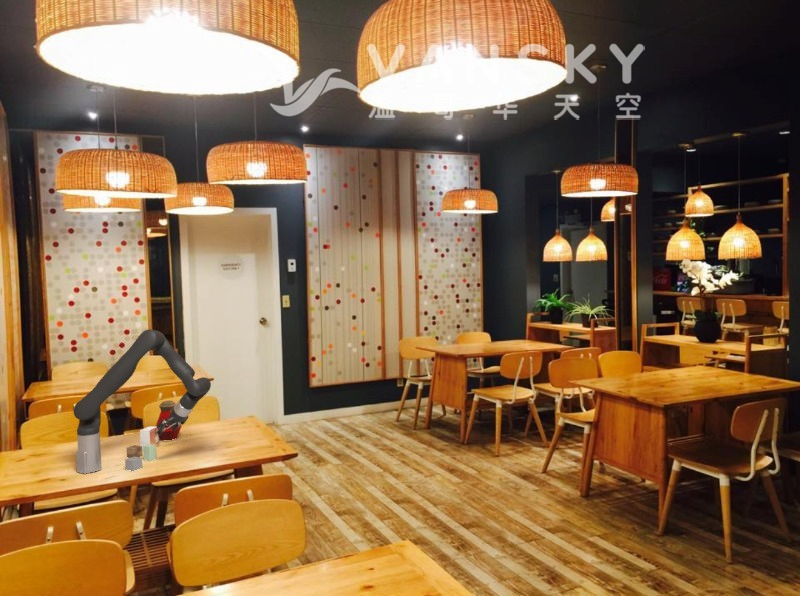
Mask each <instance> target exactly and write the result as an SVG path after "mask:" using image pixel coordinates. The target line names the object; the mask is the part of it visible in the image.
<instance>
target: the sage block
mask: <svg viewBox="0 0 800 596" xmlns="http://www.w3.org/2000/svg"><path fill="white" fill-rule="evenodd" d="M142 454H143V461H144V460H147V461H146V462H149V461H150V462H153V461H155V460H154V459H156V460H157V448H156V445H153V444H148V445H145V446H143V450H142ZM152 460H153V461H152Z"/></svg>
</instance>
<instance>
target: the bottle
mask: <svg viewBox="0 0 800 596" xmlns="http://www.w3.org/2000/svg"><path fill="white" fill-rule="evenodd" d="M176 404H177V402H175V401H173V400H165V401H162V402H161V403H160V404H159V406H158V407H159V410H160V413H159V416H158V419H157V421H156V424H155V426H158V425H159V424H160V422H161V421H162V420H163V419H165V420H167V419H168V418H169V417H170V412H171V410H172V409H173V408H174V406H175V405H176ZM167 426H169V424H168V423H167ZM172 427H173V425H172V426H171V427H170V428H168V429H165V430H164V431H163V433H162V434H161V435H160V436H159V440H160V441H161V440H171V441H173V440H172V439H174V440H176V439H177V438H178V436H179V432H181V428H182V424H181V425H180V426H179V427H178V428H177V429H176V431H173V430H172ZM164 428H165V427H164ZM175 438H176V439H175Z"/></svg>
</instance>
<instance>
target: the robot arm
mask: <svg viewBox="0 0 800 596" xmlns="http://www.w3.org/2000/svg"><path fill="white" fill-rule="evenodd" d="M150 351H153V352H155V353H157V354H158V355H159V356H161V357H162V359H163V360H165V362H166V364H167V365H168V367H169V368H170V370H171V371H172V373H174V375H176V377H177V378H179V380H180V381H181V382H182V385H183V386H184V388H185V389H186V392H185V393H183V395H182V397H181V398H180V399H179V400H178V401H177V402H176V405H175V406H174V408H173V409H172V410H171V412H170V417H169V418H168V419H167V420H165V419H163V420H162V421H161V422H160V424H159V425H158V426H157V428H158V431H157V434H158V435H159V436H160V435H161V434H162V433H163V431H164V430H165V429H168V428H170V427H171V426H172V425H173V427H172V430H173V431H176V429H177V428H178V427H179V426H180V425H181V426H183V425H185V423H186V422H187V421H188V419H189V415H190V414H191V413H192V411H193V409H194V408H195V407H196V405H197V404H198V402H199V401H200V400H201V399H203V397H205V396H206V395H207V394H208V393H209V391H210V389H211V388H212V387H211V385H212V383H211V381H210V379H209V378H207V377H205V376H204V377H203V376H202V377H199V378H197V379H195V378H194V377H195V374H196V371H195V369H194V368H193V367H192V366H191V365H190V364H189V363H187V361H186V360H185V359H184V358H183V357H182V356H181V355H180V354H179V353H178V352H177V351H176V350H175V349H174V347H173V346H172V344H170V342H169V341H168V339H167V338H166V336H165V335H164V333H162V332H161V331H159V330H155V329H151V328H149V329H146V330H143V331H142V332H141V333H140V334H139V336H138V337H137V338H136V340H135V341H134V342H133V343H132V345H130V347H129V349H127V351H125V352H124V354H122V356H121V357H120V358H119V359H118V360H117V361H116V362H115V363H113V365H112V366H111V367H110V368H109V369H108V370H107V372H106V373H105V374H104V375H103V376H102V377H101V378H100V380H99V381H98V382H97V383H96V384H95V386H94V388H92V389H91V390H90V391H89V392H88V393H87V394H86V395H85V396H83V398H82V399H80V400H78V402H77V403H75V406H73V416H74V417H75V418H76V419H77V420H79V421H78V426H77V428H76V433H77V434H76V435H77V451H76V452H75V457H76V458H75V459H76V473H78V472H80V474H83V473H84V475H87V474H91V473H90V472H93V473H96V472H95V471H97V472H99V471H101V470H102V450H101V449H102V448H101V434H100V433H101V431H100V430H101V429H100V427H101V422H102V421H101V420H102V419H101V417H102V416H101V413H102V412H101V406H102V404H103V403H104V402H105V401H106V400H107V399H108V398H109V397H111V396H112V395H114V394H115V393H116V392H117V391H118V390H120V389H121V388H122V387H123V386H124V385H125V384H126V383H127V382H129V381H128V380H129V379H131V377H132V376H133V375H134V373H135V372H136V369H137V367H138V365H139V362H140V361H141V359H142V358H143V357H144V356H145V355H146V354H147V353H148V352H150ZM167 423H168V424H169V426H167ZM164 427H165V428H164ZM100 469H101V470H100ZM98 470H99V471H98ZM86 473H87V474H86Z"/></svg>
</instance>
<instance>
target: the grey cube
mask: <svg viewBox="0 0 800 596" xmlns="http://www.w3.org/2000/svg"><path fill="white" fill-rule="evenodd" d="M124 463H125V464H124V465H125V466H124V467H125V470H126V469H127V470H131V471H130V472H132V471H134V470H137V469H140V468H142V469H143V457H132V458H125V459H124ZM127 470H126V471H127ZM140 470H141V469H140ZM137 471H138V470H137ZM134 472H135V471H134Z"/></svg>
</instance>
